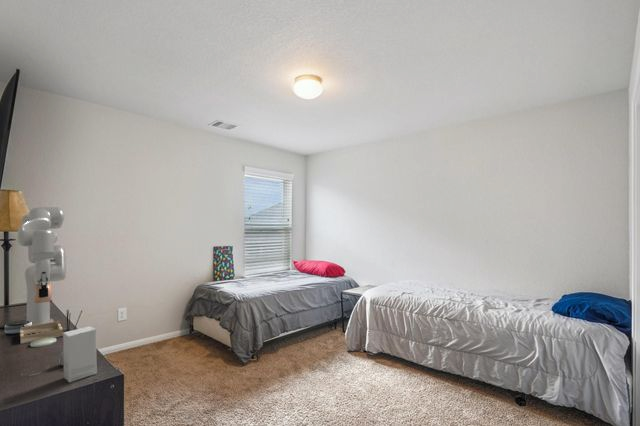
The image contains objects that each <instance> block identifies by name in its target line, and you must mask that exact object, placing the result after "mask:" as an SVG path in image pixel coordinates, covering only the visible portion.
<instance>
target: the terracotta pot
mask: <svg viewBox="0 0 640 426" xmlns="http://www.w3.org/2000/svg"><path fill="white" fill-rule="evenodd" d="M41 281H42V280H41ZM47 281H48V278H47ZM37 282H38V284H36V285H34V303H44V302H49V301H50V302H52V282H47V283H48V297H42V298H39V289H40V283H39V282H40V281H37Z"/></svg>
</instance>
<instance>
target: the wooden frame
mask: <svg viewBox="0 0 640 426" xmlns="http://www.w3.org/2000/svg"><path fill="white" fill-rule="evenodd" d="M45 331H46V332H45ZM39 332H41V333H39ZM63 332H64V329H63V327H62V325H61V321H60V320H57V321H53V322H49V323H43V324H37V325H31V326H26V327H23V326H21V327H20V328H19V337H20V345H22V344H23V345H24V344H27V343H31V342H33V341H36V340H40V339H45V338H59V337H63ZM32 333H35V334H32ZM28 334H30V335H28Z"/></svg>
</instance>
